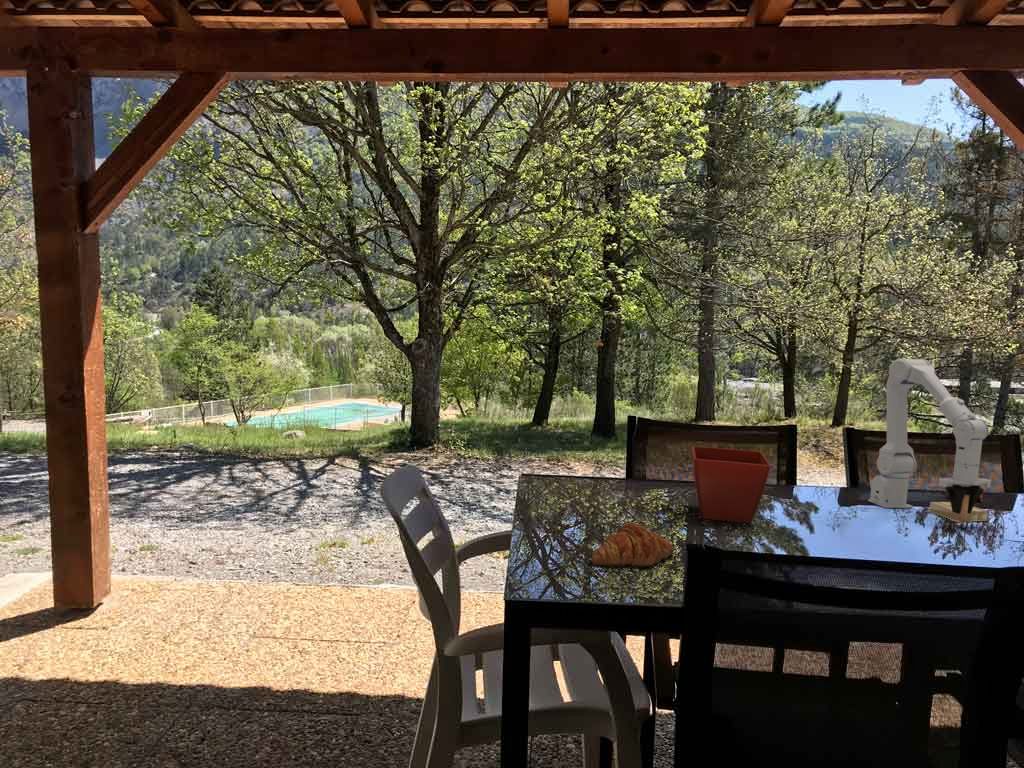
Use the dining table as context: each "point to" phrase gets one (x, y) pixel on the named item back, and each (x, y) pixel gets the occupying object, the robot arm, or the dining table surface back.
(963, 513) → the pin
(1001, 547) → the dining table surface
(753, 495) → the plant pot
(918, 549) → the dining table surface
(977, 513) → the bore block
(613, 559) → the pastry
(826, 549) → the dining table surface
